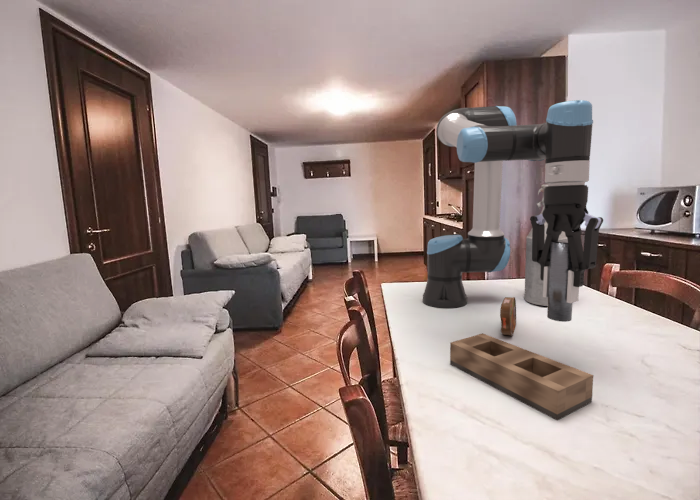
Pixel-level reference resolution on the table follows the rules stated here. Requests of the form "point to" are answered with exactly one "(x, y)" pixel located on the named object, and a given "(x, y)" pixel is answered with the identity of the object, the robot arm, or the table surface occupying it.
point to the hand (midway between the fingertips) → (560, 298)
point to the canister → (536, 266)
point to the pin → (559, 282)
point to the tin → (508, 316)
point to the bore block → (523, 374)
